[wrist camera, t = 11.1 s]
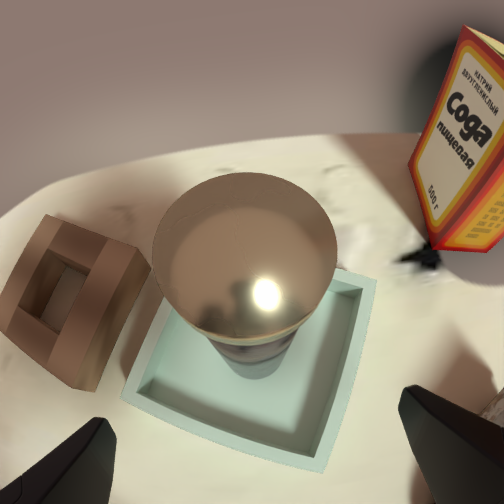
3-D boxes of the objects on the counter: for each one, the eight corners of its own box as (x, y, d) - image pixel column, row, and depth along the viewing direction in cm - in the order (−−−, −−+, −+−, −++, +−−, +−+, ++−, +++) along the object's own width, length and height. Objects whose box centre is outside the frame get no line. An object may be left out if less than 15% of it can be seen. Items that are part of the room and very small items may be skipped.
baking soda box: (407, 164, 26) (464, 20, 12) (458, 173, 26) (522, 50, 12) (431, 249, 22) (542, 92, 8) (486, 252, 21) (592, 128, 7)
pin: (274, 391, 17) (309, 363, 5) (212, 369, 18) (122, 294, 6) (295, 331, 19) (351, 197, 7) (235, 311, 19) (199, 158, 8)
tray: (315, 465, 15) (322, 473, 13) (135, 400, 17) (119, 398, 15) (364, 294, 20) (377, 279, 18) (204, 245, 22) (198, 226, 20)
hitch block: (94, 392, 17) (71, 388, 14) (12, 331, 19) (-11, 320, 16) (151, 268, 22) (137, 248, 19) (62, 233, 23) (45, 214, 21)
